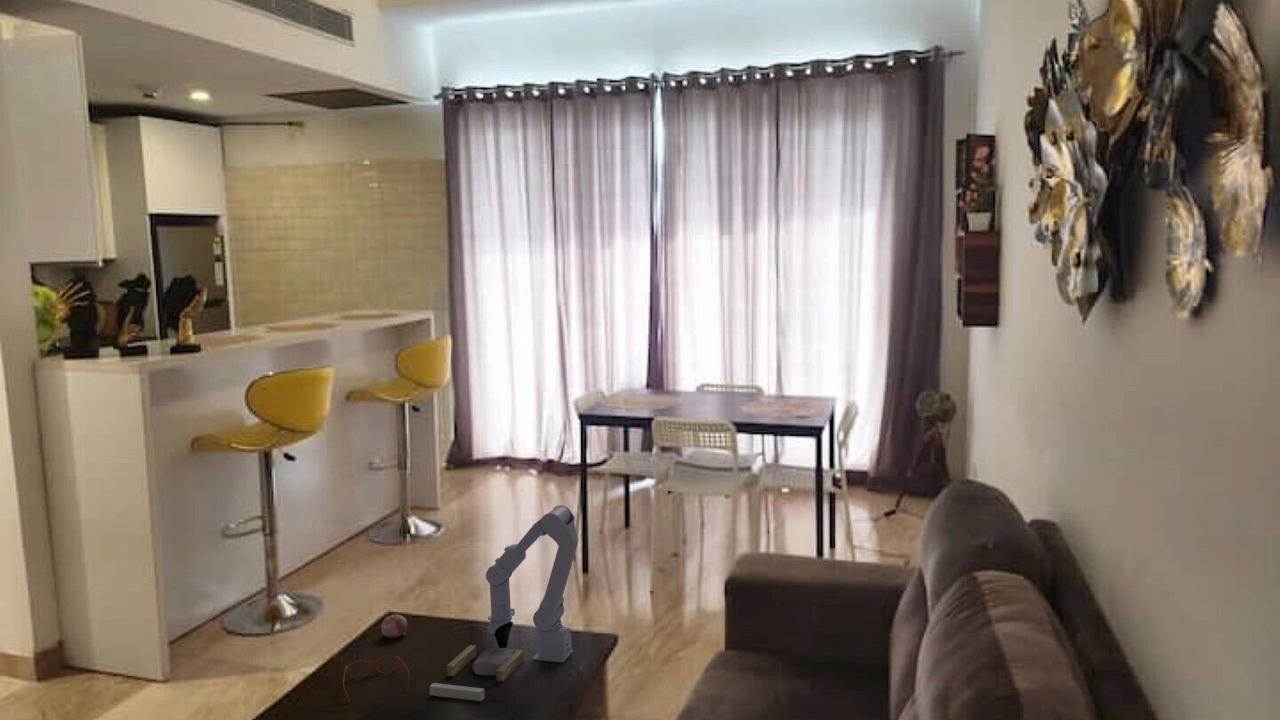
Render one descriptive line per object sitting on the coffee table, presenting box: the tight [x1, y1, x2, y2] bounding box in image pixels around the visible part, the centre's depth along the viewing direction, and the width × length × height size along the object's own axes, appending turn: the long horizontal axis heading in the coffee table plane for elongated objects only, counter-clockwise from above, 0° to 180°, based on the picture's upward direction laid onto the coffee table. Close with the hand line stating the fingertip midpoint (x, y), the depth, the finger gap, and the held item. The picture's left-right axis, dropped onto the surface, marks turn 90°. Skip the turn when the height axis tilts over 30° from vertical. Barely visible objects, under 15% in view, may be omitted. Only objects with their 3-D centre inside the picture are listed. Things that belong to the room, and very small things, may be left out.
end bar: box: [429, 682, 486, 702], centre depth 246 cm, size 15×2×2 cm, turn 74°
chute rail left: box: [446, 644, 478, 677], centre depth 265 cm, size 2×14×3 cm, turn 164°
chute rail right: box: [495, 649, 525, 683], centre depth 261 cm, size 2×14×3 cm, turn 164°
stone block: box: [472, 647, 516, 676], centre depth 264 cm, size 12×5×10 cm
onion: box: [380, 614, 408, 640], centre depth 287 cm, size 8×8×7 cm
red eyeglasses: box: [342, 655, 411, 705], centre depth 254 cm, size 17×16×5 cm
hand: (502, 647), depth 273 cm, fingers closed
